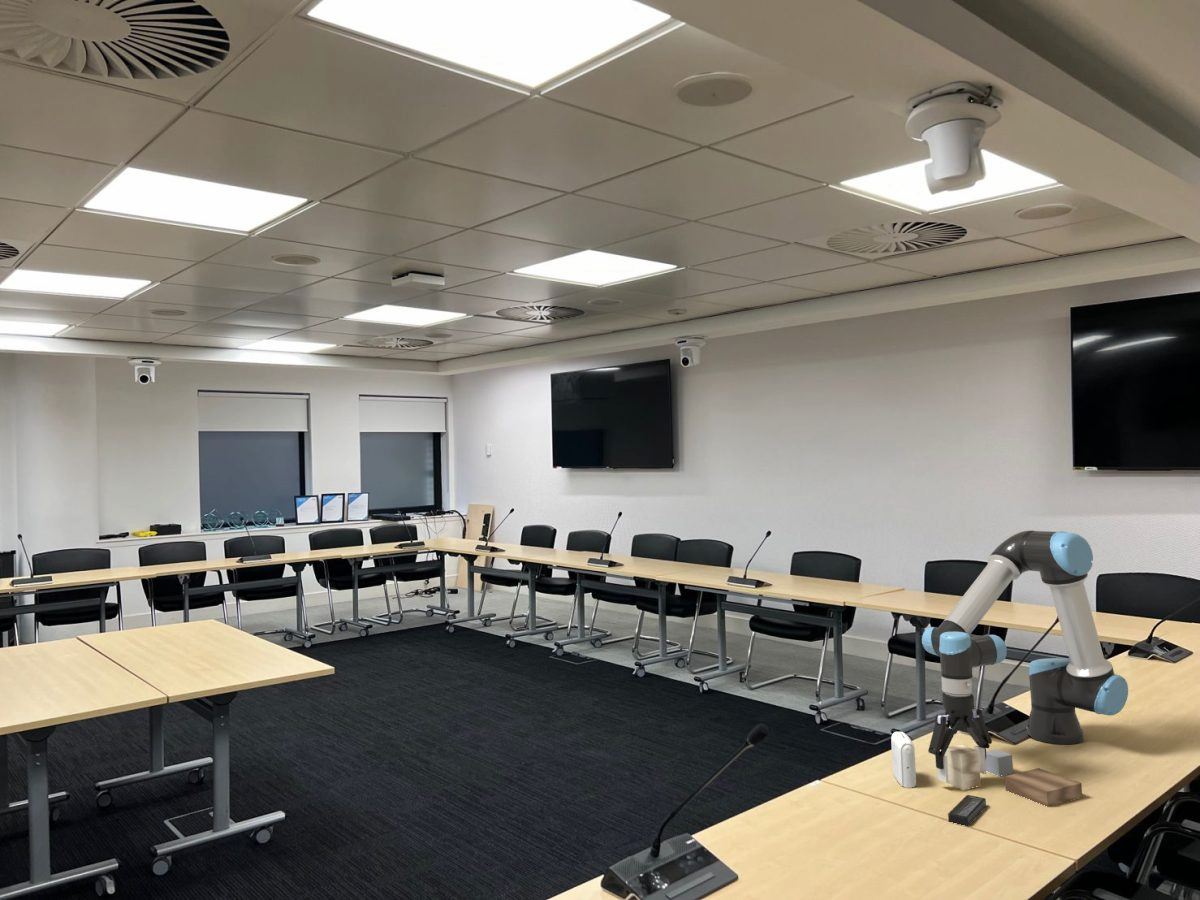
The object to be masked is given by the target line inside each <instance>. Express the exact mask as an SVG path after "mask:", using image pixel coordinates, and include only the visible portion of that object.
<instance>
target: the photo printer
mask: <svg viewBox="0 0 1200 900" xmlns="http://www.w3.org/2000/svg"><path fill="white" fill-rule="evenodd" d="M890 740H891V741H890V742H891V762H892V763H891V764H892V775H893V777H894V778H895V780H896V781H897V782H898V783H899V785H900V786H901V787H903V788H905V787H907V788H908V789H912V787H913V788H916V786H917V772H916V753H915V745H914V744H913V741H912V740H911V738H910V736H908V735H907V734H906V733H905V732H903V731H895V732H893V733H892V735H891V739H890Z"/></svg>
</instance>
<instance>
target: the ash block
mask: <svg viewBox="0 0 1200 900" xmlns="http://www.w3.org/2000/svg"><path fill="white" fill-rule="evenodd" d="M944 756H947V763H948V782H949V783H948V784H947V785H949V784H951V785H953V786H955V787H954V788H956V787H957V788H956V789H958V788H960V789H959V790H961V789H962V790H961V791H963V790H964V791H966V790H965V789H968V788H972V787H976V786H980V785H981V783H982V782H981V773H980V764H979V751H977V750H975V749H974V748H972V747H968V746H965V745H962V744H956V745H952V746H951V745H950V746H949V747H948V749H947V751H946V753H945V755H944ZM951 785H950V786H951ZM953 786H952V787H953ZM980 787H981V786H980ZM976 788H977V787H976ZM972 789H973V788H972ZM968 790H969V789H968Z"/></svg>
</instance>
